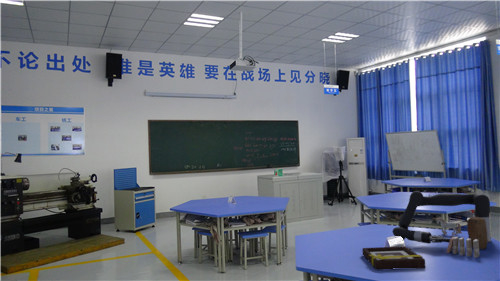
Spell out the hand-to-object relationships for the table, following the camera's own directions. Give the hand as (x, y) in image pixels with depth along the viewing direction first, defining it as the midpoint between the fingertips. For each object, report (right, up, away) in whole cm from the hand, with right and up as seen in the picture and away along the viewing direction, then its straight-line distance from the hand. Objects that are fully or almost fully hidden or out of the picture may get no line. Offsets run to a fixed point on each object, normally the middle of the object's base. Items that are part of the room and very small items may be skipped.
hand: (450, 240), depth 232 cm
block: (+22, -7, +7) cm, 24 cm away
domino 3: (+8, -7, -8) cm, 13 cm away
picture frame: (-43, -10, -12) cm, 46 cm away
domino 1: (-1, -7, +1) cm, 7 cm away
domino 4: (+10, -7, -11) cm, 17 cm away
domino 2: (+2, -7, -2) cm, 8 cm away
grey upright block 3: (+5, -7, -5) cm, 10 cm away
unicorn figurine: (+21, -8, +41) cm, 47 cm away
